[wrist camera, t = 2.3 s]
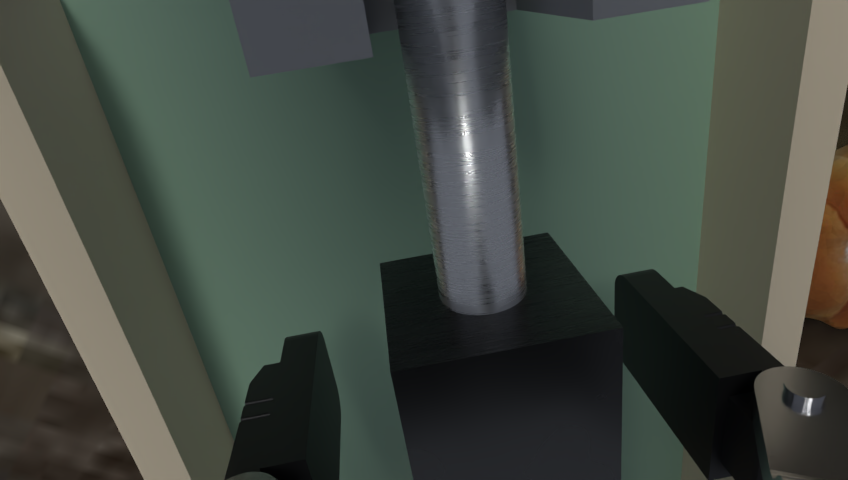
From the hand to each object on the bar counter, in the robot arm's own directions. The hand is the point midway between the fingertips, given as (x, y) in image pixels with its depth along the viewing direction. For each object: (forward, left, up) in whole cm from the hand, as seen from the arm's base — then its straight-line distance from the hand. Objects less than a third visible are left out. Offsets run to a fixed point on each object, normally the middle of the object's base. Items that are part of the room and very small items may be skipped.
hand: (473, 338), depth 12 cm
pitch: (+5, 0, -4) cm, 7 cm away
